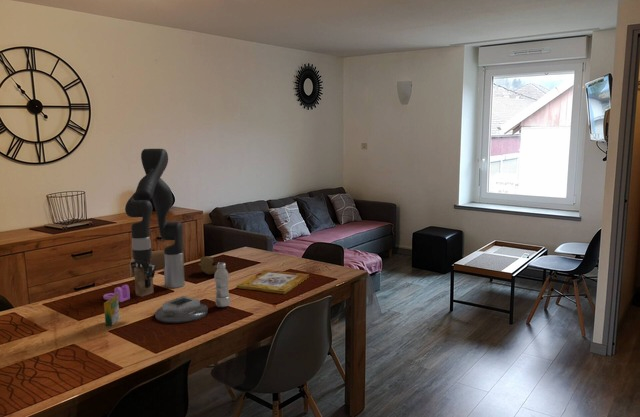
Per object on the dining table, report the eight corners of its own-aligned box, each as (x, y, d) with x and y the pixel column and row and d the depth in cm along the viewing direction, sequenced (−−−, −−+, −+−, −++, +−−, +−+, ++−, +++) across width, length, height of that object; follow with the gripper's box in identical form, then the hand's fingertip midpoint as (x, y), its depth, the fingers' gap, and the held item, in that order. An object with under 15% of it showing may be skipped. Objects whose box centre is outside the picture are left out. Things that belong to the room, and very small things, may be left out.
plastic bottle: (232, 304, 225) (231, 262, 222) (225, 309, 219) (223, 265, 216) (220, 303, 227) (218, 261, 224) (212, 308, 221) (210, 264, 218)
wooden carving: (223, 274, 273) (223, 257, 272) (217, 276, 269) (217, 259, 268) (202, 270, 282) (201, 253, 280) (196, 272, 278) (195, 255, 276)
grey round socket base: (144, 317, 211) (143, 304, 210) (183, 302, 229) (182, 290, 228) (180, 327, 199) (179, 314, 198) (218, 310, 218) (217, 298, 217)
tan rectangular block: (135, 295, 209) (133, 267, 207) (147, 291, 214) (145, 264, 212) (142, 296, 207) (140, 268, 205) (153, 292, 212) (151, 265, 210)
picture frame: (309, 274, 267) (284, 290, 239) (309, 278, 267) (284, 295, 240) (265, 269, 277) (236, 284, 249) (265, 273, 277) (236, 289, 250)
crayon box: (113, 319, 208) (111, 293, 206) (120, 319, 208) (118, 293, 206) (105, 326, 201) (103, 298, 199) (112, 326, 201) (110, 298, 199)
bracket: (130, 299, 235) (129, 284, 234) (120, 302, 230) (119, 288, 229) (110, 295, 240) (109, 281, 239) (100, 298, 235) (99, 284, 234)
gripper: (123, 247, 207) (126, 286, 210) (145, 251, 200) (148, 291, 203) (138, 243, 214) (140, 281, 216) (160, 247, 206) (162, 286, 209)
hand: (144, 286), depth 210 cm, fingers closed on tan rectangular block, 4 cm apart
